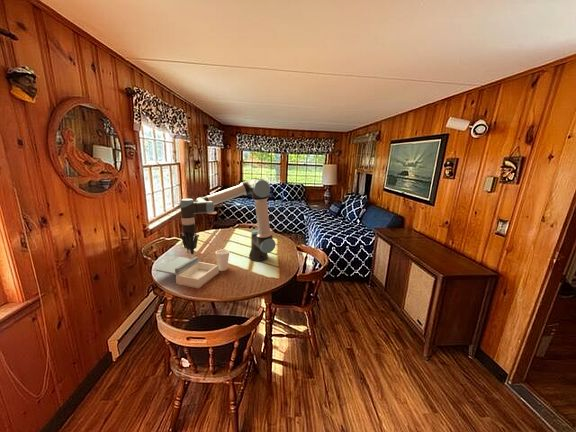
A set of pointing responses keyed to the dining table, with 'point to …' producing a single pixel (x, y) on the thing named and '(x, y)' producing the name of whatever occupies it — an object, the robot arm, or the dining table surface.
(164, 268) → the lid
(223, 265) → the foam cup
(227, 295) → the dining table surface
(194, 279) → the box
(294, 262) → the dining table surface
